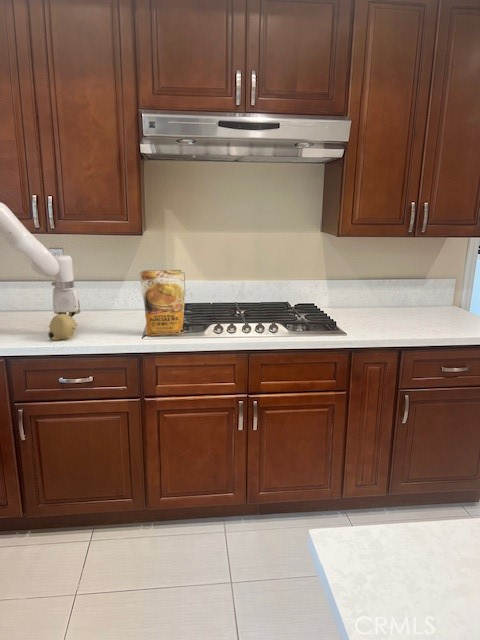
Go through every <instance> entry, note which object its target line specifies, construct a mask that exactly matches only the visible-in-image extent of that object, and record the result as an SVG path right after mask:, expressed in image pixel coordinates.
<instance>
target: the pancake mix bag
mask: <svg viewBox="0 0 480 640" xmlns="http://www.w3.org/2000/svg"><path fill="white" fill-rule="evenodd" d="M139 279H140V285H141V294H142V295H141V296H142V300H143V301H142V302H143V306H144V317H145V322H146V328H145V334H144V335H145V336H150V337H165V336H180V335H181V334H182V335H183V334H184V333H185V332H184V327H183V326H184V319H185V318H184V316H185V315H184V314H185V304H186V276H185V271H182V269H148V270H147V269H146V270H142V271H140V272H139ZM180 330H183V332H179V333H170V332H178V331H180ZM150 333H168V334H150Z"/></svg>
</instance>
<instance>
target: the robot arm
mask: <svg viewBox="0 0 480 640" xmlns="http://www.w3.org/2000/svg"><path fill="white" fill-rule="evenodd" d="M0 235H1V236H2V237H3V239H4V240H5V241H6V242H7V243H8V244H9V245H10V246H11V247H12V248H14V249H15V250H16V251H18V252H20V253H21V254H23V255H24V256H25V257H26V258H27V259H29V260H30V262H31V263H30V264H31V265H30V266H31V269H32V271H33V272H35V273H36V274H38V275H41V276H44V277H46V278H53V277H54V281H53V282H51V286H53V287H54V288H53V289H52V310H53V314H54V315H59V314H66V315H69V316H71V317H72V318H73V317H74V316H75V315H79V314H80V313H81V309H80V307H81V305H80V298H79V293H78V289H77V287H76V286H75V278H74V265H73V258H72V255H71V256H70V255H68V254H59V255H53V254H52V253H51V252H50V251H49V250H48V249H47V247H46V246H44V245H43V243H42V242H40V241H39V240H38V239H37V238H36V237H35V236H34V234H32V233H31V232H30V231H29V230H28V229H27V228H26V226H25V225H23V223H22V222H21V221H20V220H19V218H18V217H17V216H16V215H15V214H14V213H13V212H12V210H11V209H10V208H9V207H8V206H7V205H6V204H5V203H3V202H0Z"/></svg>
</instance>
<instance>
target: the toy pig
mask: <svg viewBox="0 0 480 640" xmlns="http://www.w3.org/2000/svg"><path fill="white" fill-rule="evenodd" d="M77 326H78V322H76V321H75V319H74V318H73V317H71V316H69V315H68V314H67V315H66V314H59V315H58V314H55V316H53V318H52V319H50V323H49V330H48V332H47V334H48V338H49V339H50V340H52V341H59V340H71V339H72V336H73V335H74V333H75V331H76V328H77Z"/></svg>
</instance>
